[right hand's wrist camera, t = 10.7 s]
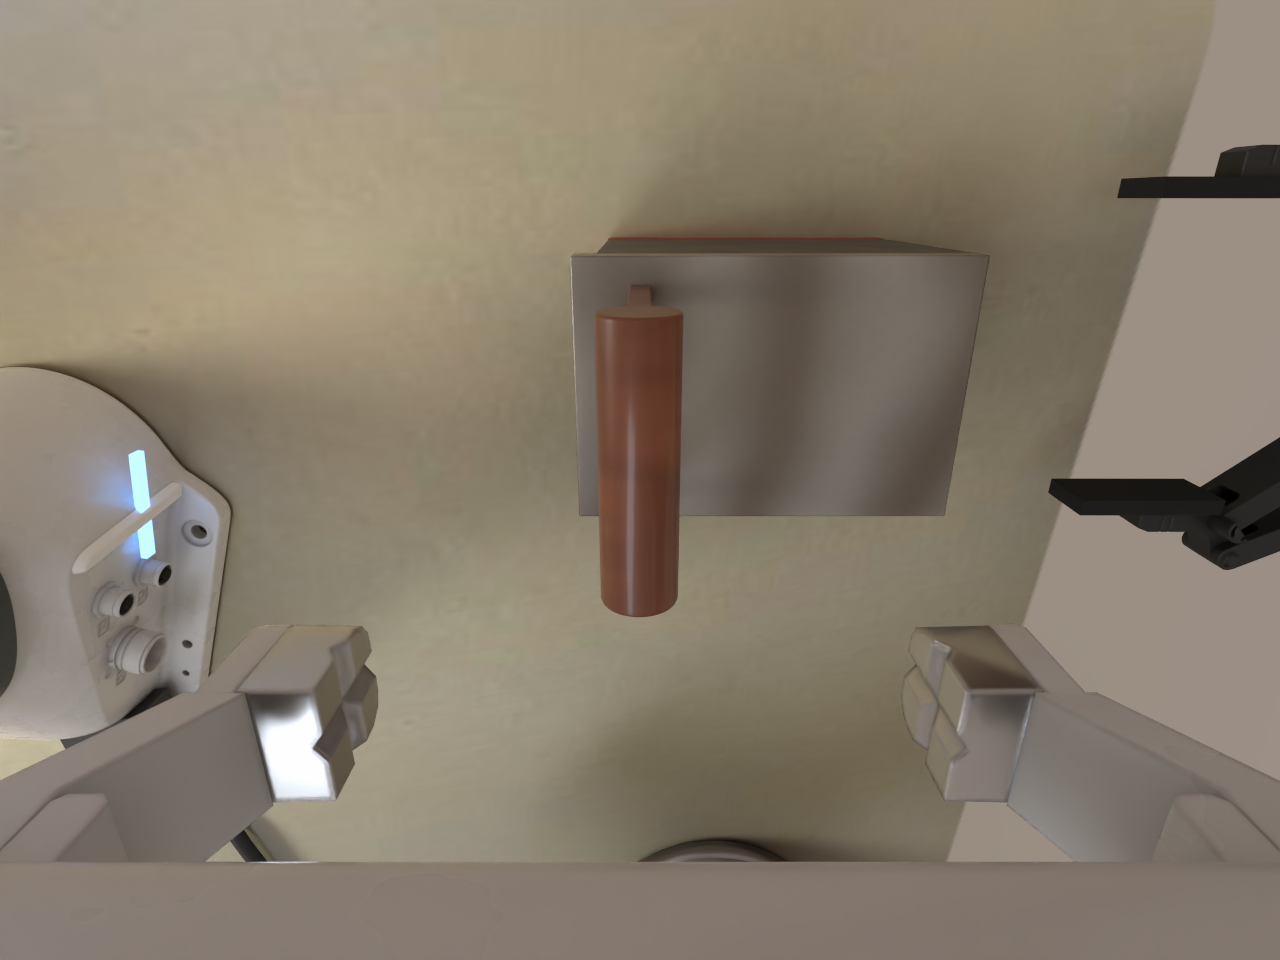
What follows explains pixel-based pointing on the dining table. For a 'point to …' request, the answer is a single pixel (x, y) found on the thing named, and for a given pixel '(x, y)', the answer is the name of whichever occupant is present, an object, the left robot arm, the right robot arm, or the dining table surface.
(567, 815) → the dining table surface
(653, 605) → the lid
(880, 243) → the chest
